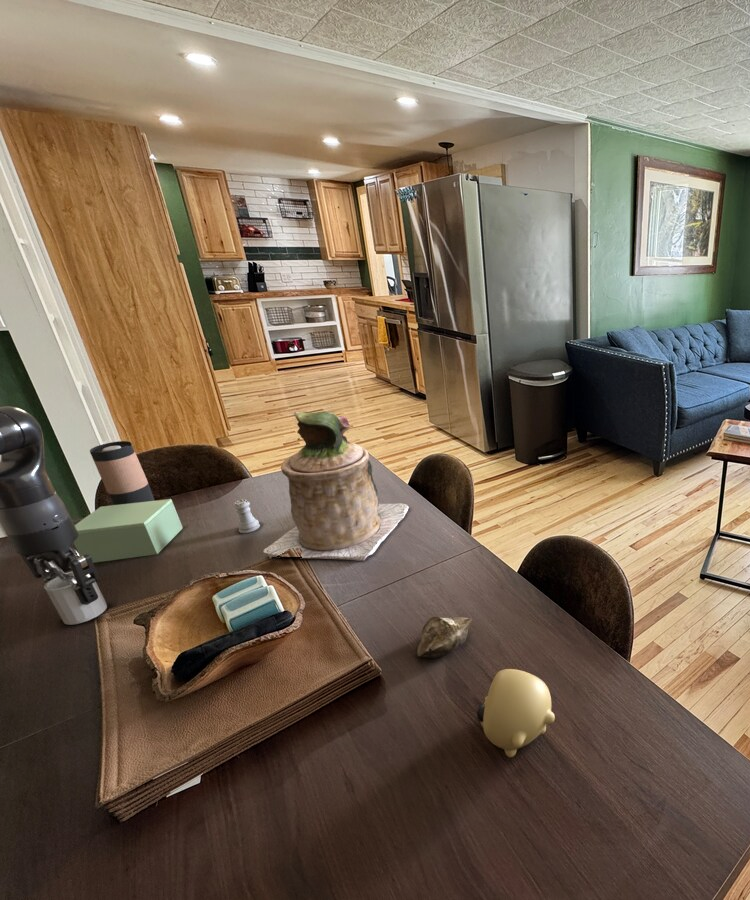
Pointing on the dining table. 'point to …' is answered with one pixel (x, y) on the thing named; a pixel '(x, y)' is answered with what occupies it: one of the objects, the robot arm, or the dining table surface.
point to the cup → (73, 602)
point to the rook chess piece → (246, 517)
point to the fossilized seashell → (442, 636)
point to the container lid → (121, 516)
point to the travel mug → (121, 473)
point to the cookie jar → (333, 495)
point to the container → (131, 538)
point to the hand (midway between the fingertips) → (77, 598)
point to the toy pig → (515, 710)
